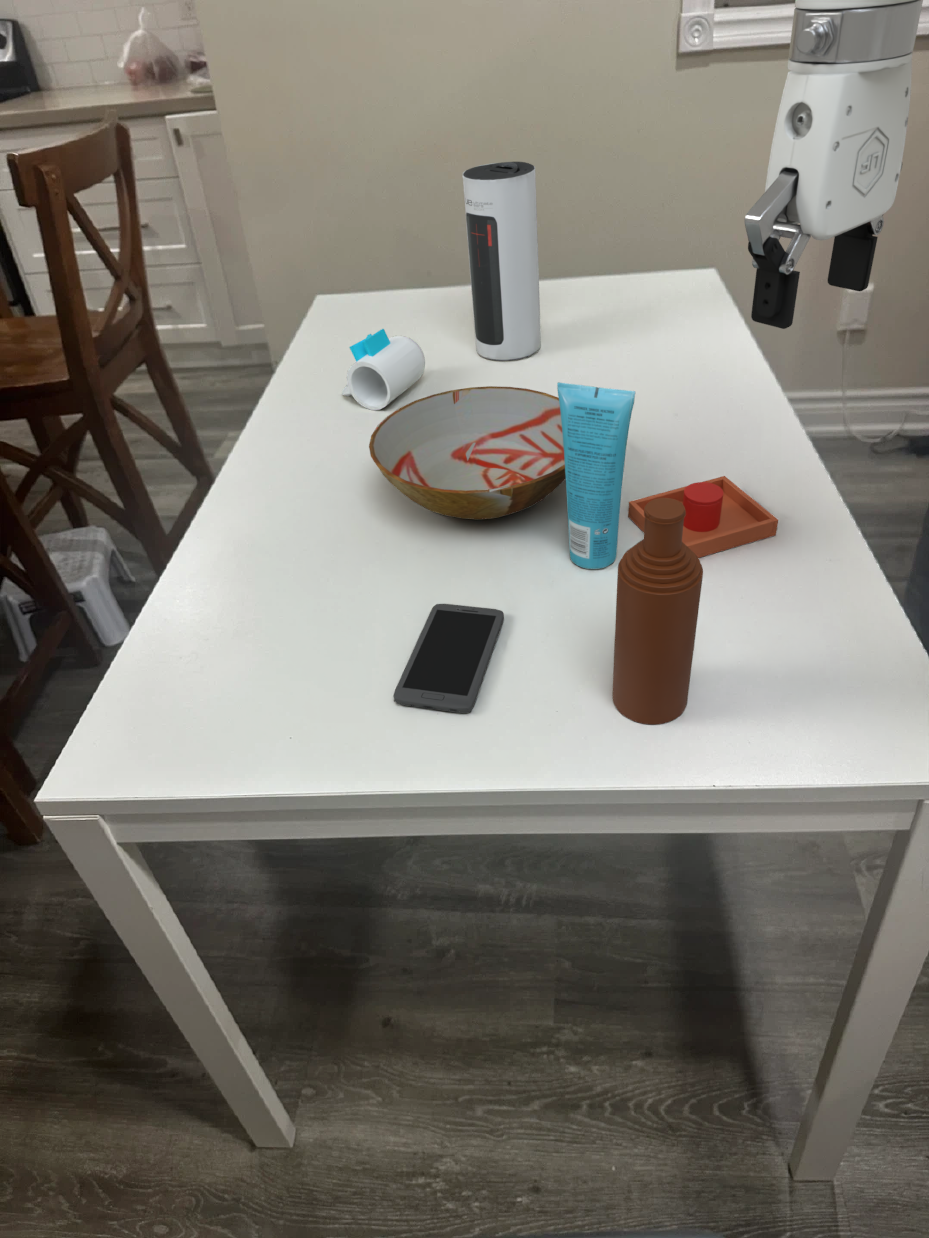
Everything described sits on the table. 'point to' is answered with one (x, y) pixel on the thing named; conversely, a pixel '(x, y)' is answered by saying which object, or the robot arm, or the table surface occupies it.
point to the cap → (702, 506)
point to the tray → (736, 524)
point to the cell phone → (450, 658)
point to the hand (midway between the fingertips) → (810, 305)
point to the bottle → (656, 619)
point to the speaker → (503, 259)
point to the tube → (594, 468)
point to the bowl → (473, 450)
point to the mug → (383, 369)
